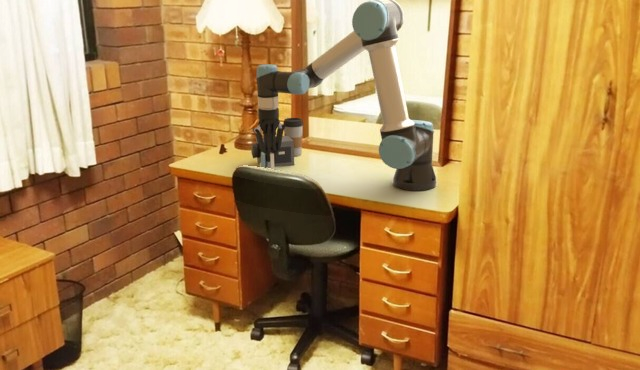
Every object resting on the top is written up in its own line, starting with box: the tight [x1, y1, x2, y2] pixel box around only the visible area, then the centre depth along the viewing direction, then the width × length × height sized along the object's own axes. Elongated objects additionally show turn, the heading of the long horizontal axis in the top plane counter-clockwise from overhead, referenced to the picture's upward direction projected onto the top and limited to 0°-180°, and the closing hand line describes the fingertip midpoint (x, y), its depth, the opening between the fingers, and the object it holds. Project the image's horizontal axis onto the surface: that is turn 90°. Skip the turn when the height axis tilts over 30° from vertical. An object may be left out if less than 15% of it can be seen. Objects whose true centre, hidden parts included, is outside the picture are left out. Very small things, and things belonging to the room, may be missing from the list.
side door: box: [259, 152, 265, 168], centre depth 237 cm, size 12×2×7 cm, turn 3°
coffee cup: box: [282, 117, 304, 158], centre depth 261 cm, size 8×8×15 cm
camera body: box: [250, 135, 295, 168], centre depth 248 cm, size 9×16×11 cm, turn 108°
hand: (271, 169), depth 236 cm, fingers closed
